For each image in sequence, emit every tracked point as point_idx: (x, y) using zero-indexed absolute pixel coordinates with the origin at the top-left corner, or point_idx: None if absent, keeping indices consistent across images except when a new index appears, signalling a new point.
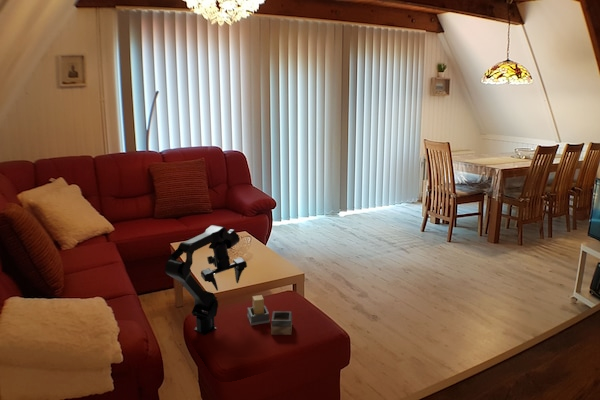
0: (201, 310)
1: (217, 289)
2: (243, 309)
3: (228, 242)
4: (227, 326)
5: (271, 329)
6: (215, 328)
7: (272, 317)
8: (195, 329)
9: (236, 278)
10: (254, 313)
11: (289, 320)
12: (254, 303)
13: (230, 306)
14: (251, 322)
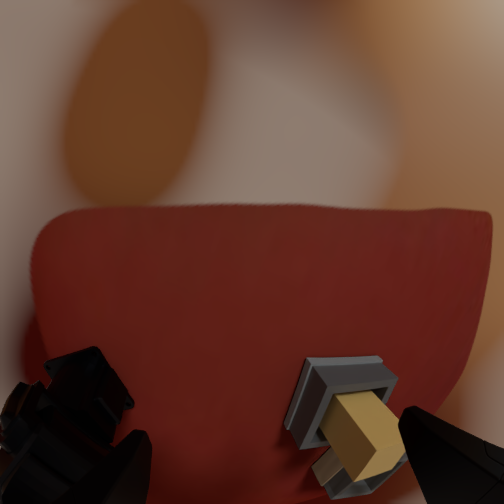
0: (44, 399)
1: (146, 464)
2: (321, 280)
3: None
4: (187, 401)
5: (318, 478)
6: (130, 408)
7: (346, 487)
8: (47, 372)
9: (427, 460)
10: (325, 429)
11: (370, 492)
12: (346, 470)
13: (272, 209)
14: (290, 429)
